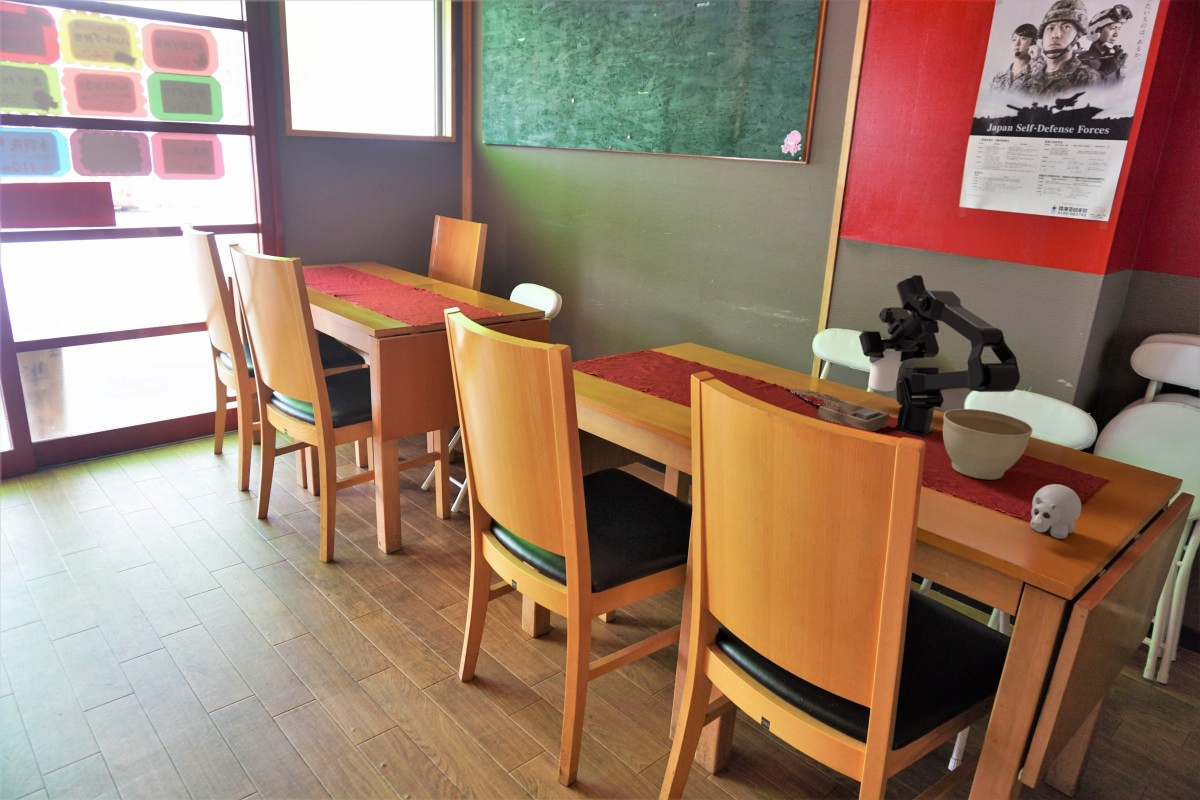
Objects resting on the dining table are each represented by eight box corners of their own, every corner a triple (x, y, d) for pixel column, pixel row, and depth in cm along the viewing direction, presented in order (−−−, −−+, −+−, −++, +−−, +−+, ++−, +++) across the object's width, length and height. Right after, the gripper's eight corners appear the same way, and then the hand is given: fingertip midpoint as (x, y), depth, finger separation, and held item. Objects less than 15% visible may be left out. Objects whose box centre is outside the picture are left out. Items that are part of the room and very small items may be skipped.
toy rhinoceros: (1006, 535, 133) (1018, 489, 130) (1036, 518, 140) (1048, 474, 137) (1051, 553, 127) (1064, 506, 125) (1080, 534, 135) (1093, 488, 132)
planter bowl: (1022, 468, 163) (1034, 419, 159) (1017, 495, 149) (1030, 441, 146) (940, 450, 170) (950, 402, 167) (928, 474, 157) (938, 422, 154)
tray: (887, 426, 184) (889, 413, 183) (865, 434, 177) (867, 422, 176) (839, 411, 192) (841, 399, 191) (817, 418, 186) (819, 406, 185)
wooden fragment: (878, 416, 191) (879, 412, 191) (847, 422, 186) (848, 418, 185) (801, 386, 212) (802, 383, 212) (771, 391, 206) (772, 387, 206)
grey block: (879, 425, 183) (881, 411, 182) (864, 431, 179) (866, 416, 178) (865, 421, 186) (867, 407, 185) (850, 427, 181) (852, 412, 180)
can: (892, 386, 199) (900, 340, 195) (897, 393, 192) (905, 345, 189) (866, 383, 200) (873, 337, 196) (869, 390, 194) (877, 343, 190)
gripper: (941, 299, 187) (909, 334, 201) (868, 297, 184) (840, 333, 197) (954, 339, 182) (920, 372, 195) (880, 338, 179) (850, 371, 192)
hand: (883, 361), depth 195 cm, fingers closed on can, 6 cm apart
